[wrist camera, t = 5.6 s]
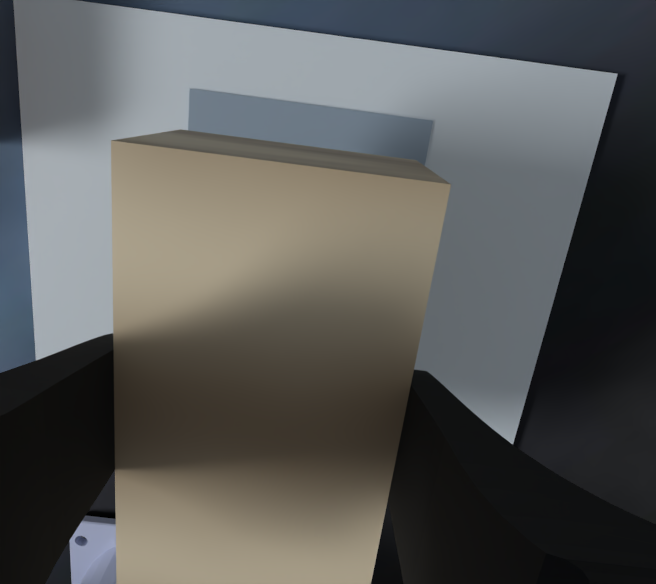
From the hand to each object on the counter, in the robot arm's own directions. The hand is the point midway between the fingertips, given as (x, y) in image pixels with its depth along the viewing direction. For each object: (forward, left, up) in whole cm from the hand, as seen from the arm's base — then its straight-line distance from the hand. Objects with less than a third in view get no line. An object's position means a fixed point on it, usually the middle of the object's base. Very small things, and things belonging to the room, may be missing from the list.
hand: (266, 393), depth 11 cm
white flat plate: (0, 0, -8) cm, 8 cm away
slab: (0, 0, -3) cm, 3 cm away
